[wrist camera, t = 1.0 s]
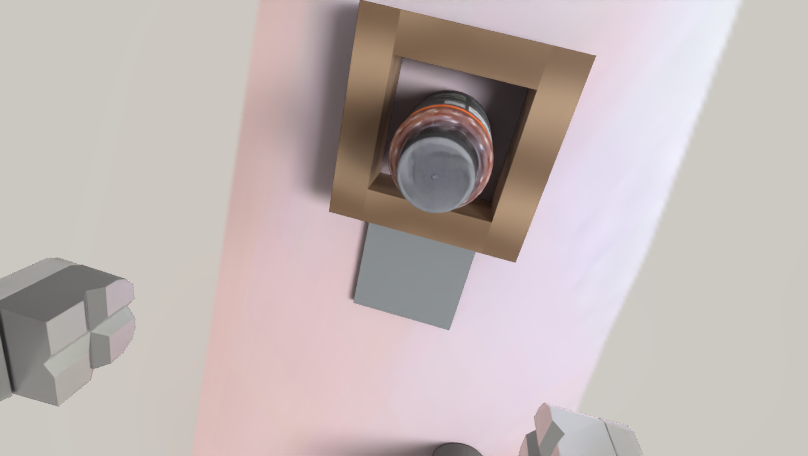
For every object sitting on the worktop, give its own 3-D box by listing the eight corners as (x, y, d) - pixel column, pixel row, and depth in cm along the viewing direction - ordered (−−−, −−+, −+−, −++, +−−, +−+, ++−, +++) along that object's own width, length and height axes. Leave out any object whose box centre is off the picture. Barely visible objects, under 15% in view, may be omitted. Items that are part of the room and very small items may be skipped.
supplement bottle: (423, 178, 33) (396, 242, 23) (399, 103, 31) (357, 136, 21) (499, 158, 31) (507, 217, 21) (479, 77, 29) (477, 99, 19)
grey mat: (372, 212, 35) (370, 214, 34) (478, 240, 34) (478, 244, 34) (355, 298, 39) (353, 302, 38) (449, 326, 38) (449, 330, 37)
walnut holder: (375, 4, 28) (360, -1, 25) (581, 53, 27) (595, 55, 24) (345, 193, 34) (329, 211, 31) (512, 238, 33) (515, 262, 30)
